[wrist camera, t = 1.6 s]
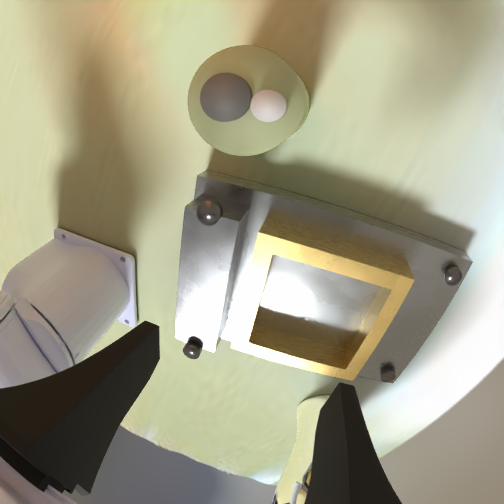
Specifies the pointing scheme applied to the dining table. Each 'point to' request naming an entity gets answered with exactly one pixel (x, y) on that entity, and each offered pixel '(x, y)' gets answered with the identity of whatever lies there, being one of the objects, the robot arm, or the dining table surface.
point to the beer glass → (300, 454)
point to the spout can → (246, 100)
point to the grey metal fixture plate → (307, 281)
